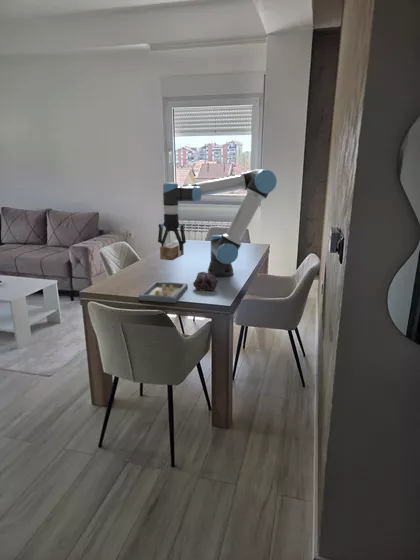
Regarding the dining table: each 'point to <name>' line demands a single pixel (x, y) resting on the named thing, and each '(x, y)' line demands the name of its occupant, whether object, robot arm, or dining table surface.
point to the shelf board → (170, 251)
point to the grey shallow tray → (164, 292)
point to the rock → (205, 282)
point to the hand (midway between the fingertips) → (172, 255)
